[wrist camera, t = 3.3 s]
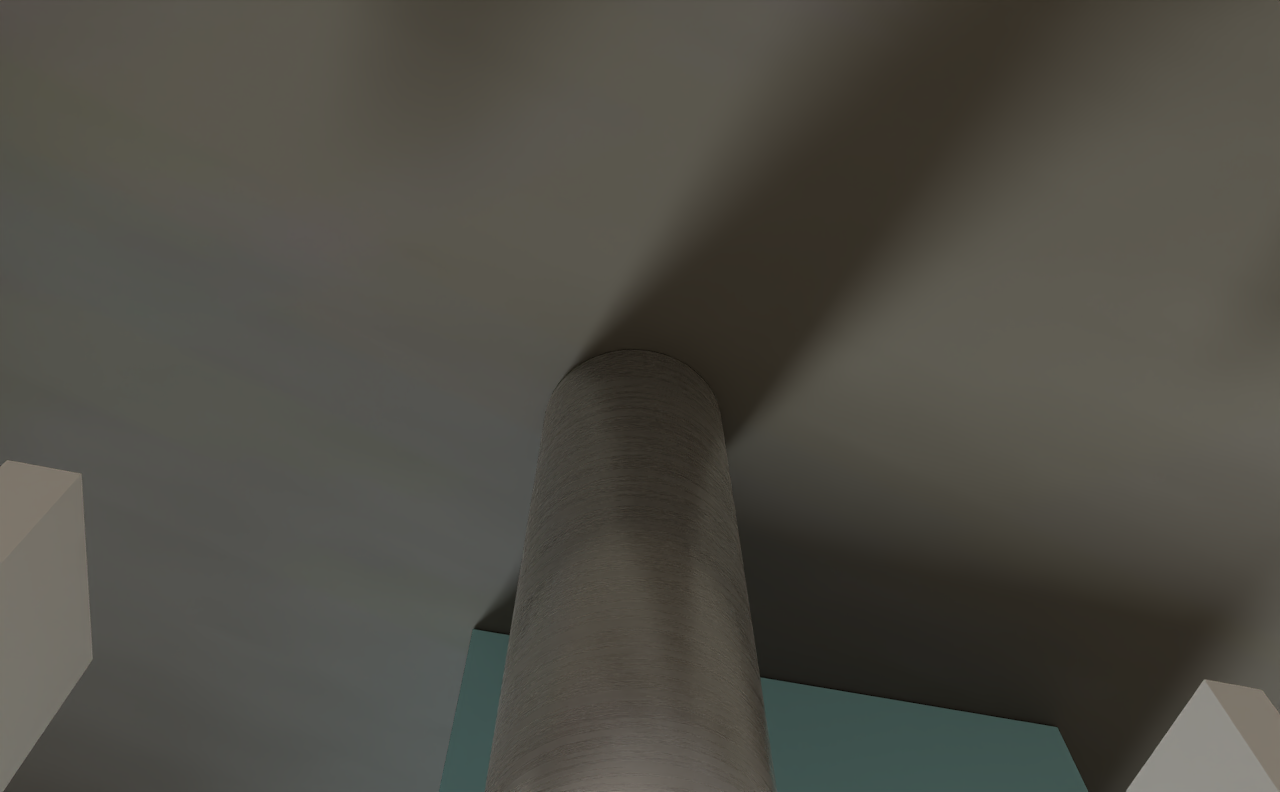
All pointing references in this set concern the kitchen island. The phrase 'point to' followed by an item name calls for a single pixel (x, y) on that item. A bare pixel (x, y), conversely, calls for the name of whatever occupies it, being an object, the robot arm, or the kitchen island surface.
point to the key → (631, 598)
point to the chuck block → (820, 740)
